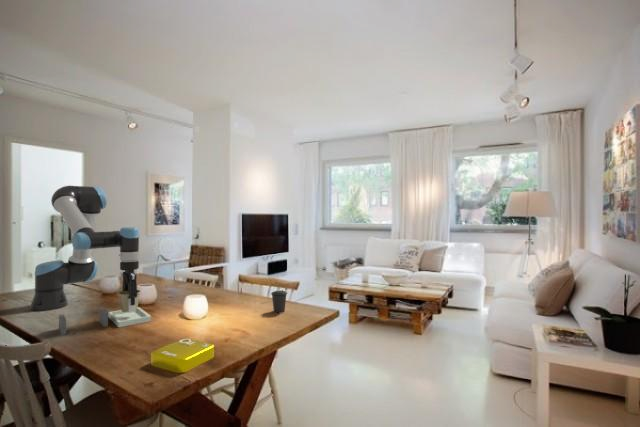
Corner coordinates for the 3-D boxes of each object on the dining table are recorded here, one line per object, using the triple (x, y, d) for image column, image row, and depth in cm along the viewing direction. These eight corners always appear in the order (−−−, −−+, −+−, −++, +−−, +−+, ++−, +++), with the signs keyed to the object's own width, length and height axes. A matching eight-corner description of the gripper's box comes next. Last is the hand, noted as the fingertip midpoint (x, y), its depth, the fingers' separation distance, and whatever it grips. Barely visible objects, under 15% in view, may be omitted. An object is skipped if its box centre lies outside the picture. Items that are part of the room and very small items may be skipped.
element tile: (148, 365, 110) (148, 350, 110) (185, 349, 123) (185, 336, 124) (181, 375, 103) (181, 359, 103) (216, 357, 117) (216, 342, 117)
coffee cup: (288, 309, 174) (288, 289, 174) (285, 313, 166) (285, 293, 166) (273, 308, 175) (273, 289, 175) (269, 313, 166) (269, 292, 167)
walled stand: (58, 328, 144) (58, 314, 144) (103, 320, 155) (103, 307, 155) (61, 335, 137) (61, 320, 137) (107, 326, 147) (107, 312, 147)
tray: (108, 317, 160) (108, 312, 160) (138, 311, 169) (138, 307, 169) (118, 327, 146) (118, 322, 146) (151, 321, 154) (151, 316, 154)
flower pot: (130, 314, 152) (130, 294, 152) (112, 313, 154) (112, 293, 154) (145, 308, 161) (145, 290, 161) (128, 307, 163) (128, 289, 163)
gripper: (114, 259, 163) (115, 307, 163) (126, 264, 147) (126, 316, 147) (132, 258, 168) (132, 304, 168) (145, 262, 152) (145, 313, 152)
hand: (129, 310), depth 157 cm, fingers closed on flower pot, 8 cm apart
